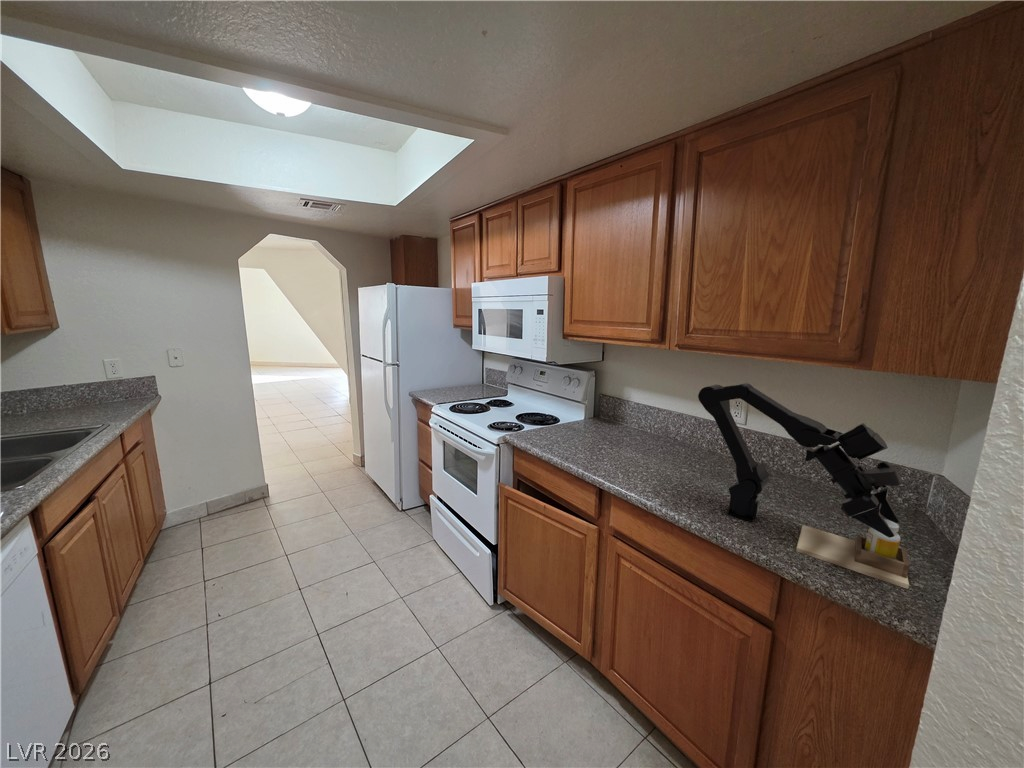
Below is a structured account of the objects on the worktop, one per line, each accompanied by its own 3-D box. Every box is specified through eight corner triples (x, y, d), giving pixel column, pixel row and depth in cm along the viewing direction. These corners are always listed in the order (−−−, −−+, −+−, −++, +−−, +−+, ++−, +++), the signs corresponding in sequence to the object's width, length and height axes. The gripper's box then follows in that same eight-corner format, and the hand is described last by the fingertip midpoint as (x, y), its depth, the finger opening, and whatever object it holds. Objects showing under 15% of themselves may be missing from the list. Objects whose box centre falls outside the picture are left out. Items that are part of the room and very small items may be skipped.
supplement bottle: (856, 554, 93) (865, 517, 91) (873, 551, 94) (882, 515, 93) (882, 569, 88) (891, 530, 86) (900, 566, 89) (909, 527, 87)
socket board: (796, 551, 96) (798, 536, 95) (802, 528, 106) (804, 514, 105) (908, 589, 83) (912, 572, 82) (902, 558, 94) (905, 543, 93)
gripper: (870, 462, 83) (934, 532, 77) (883, 444, 95) (939, 503, 89) (818, 484, 91) (873, 549, 84) (836, 464, 103) (885, 520, 96)
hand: (894, 529), depth 88 cm, fingers open, 9 cm apart
